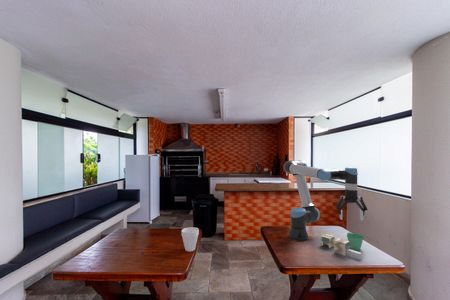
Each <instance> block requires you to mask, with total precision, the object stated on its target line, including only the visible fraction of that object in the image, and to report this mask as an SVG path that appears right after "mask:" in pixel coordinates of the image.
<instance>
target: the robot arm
mask: <svg viewBox="0 0 450 300" xmlns="http://www.w3.org/2000/svg"><path fill="white" fill-rule="evenodd" d="M283 170H284V172H285V173H286V174H292V177H293V178H294V179H295V182H296V187H297V190H298V193H299V199H300V204H301V205H300V206H299V207H294V208H292V209H291V210H290V229H289V232H288V237H289V238H290V240H293V241H298V242H305V241H308V240H309V233H308V231H307V224H311V223H315V222H317V221H319V219H320V217H321V213H320V211H319V209H318V208H317V207H316V206H315V204H314V203H313V201H312V197H311V194H310V193H311V192H310V189H309V186H308V182H307V179H306V177H311V178H313V179H314V178H315V179H319V180H320V181H333V180H334V181H335V180H336V181H337V180H339V181H340V180H341V181H344V182H345V183H344V188H345V189H344V195H340V197H339V200H338V202H337V203H336V205H335V207H334V208H335V209H336V210H338V211H337V212H338V215H339V219H340V220H341V221H343V210H342V209H343V208H344V207H346V205H347V204H351V203H353V204H355V205H356V206H357V207H358V208H359V220H360V221H364V216H365V212H366V211H368V207H367V205H366V203H365V202H364V199H363V196H358V174H359V173H358V168H357V167H350V166H349V167H347V166H345V168H344V169H339V168H330V169H325V168H319V167H314V166H308V164H307V163H306V162H305V161H303V160H299V159H298V160H287V161H285V163H284V164H283ZM358 200H359V201H358Z"/></svg>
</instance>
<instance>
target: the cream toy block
mask: <svg viewBox="0 0 450 300" xmlns="http://www.w3.org/2000/svg"><path fill="white" fill-rule="evenodd" d="M347 248H348V249H351V248H350V242H349V241H348V239H347V240H346V239H343V238H339V237H338V238H335V240H334V247H333V251H334V252H336V253H335V254H337V253H338V254H337V255H339V254H341V255H340V256H342V255H344V256H343V257H345V256H346V249H347ZM334 252H333V253H334Z"/></svg>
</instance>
